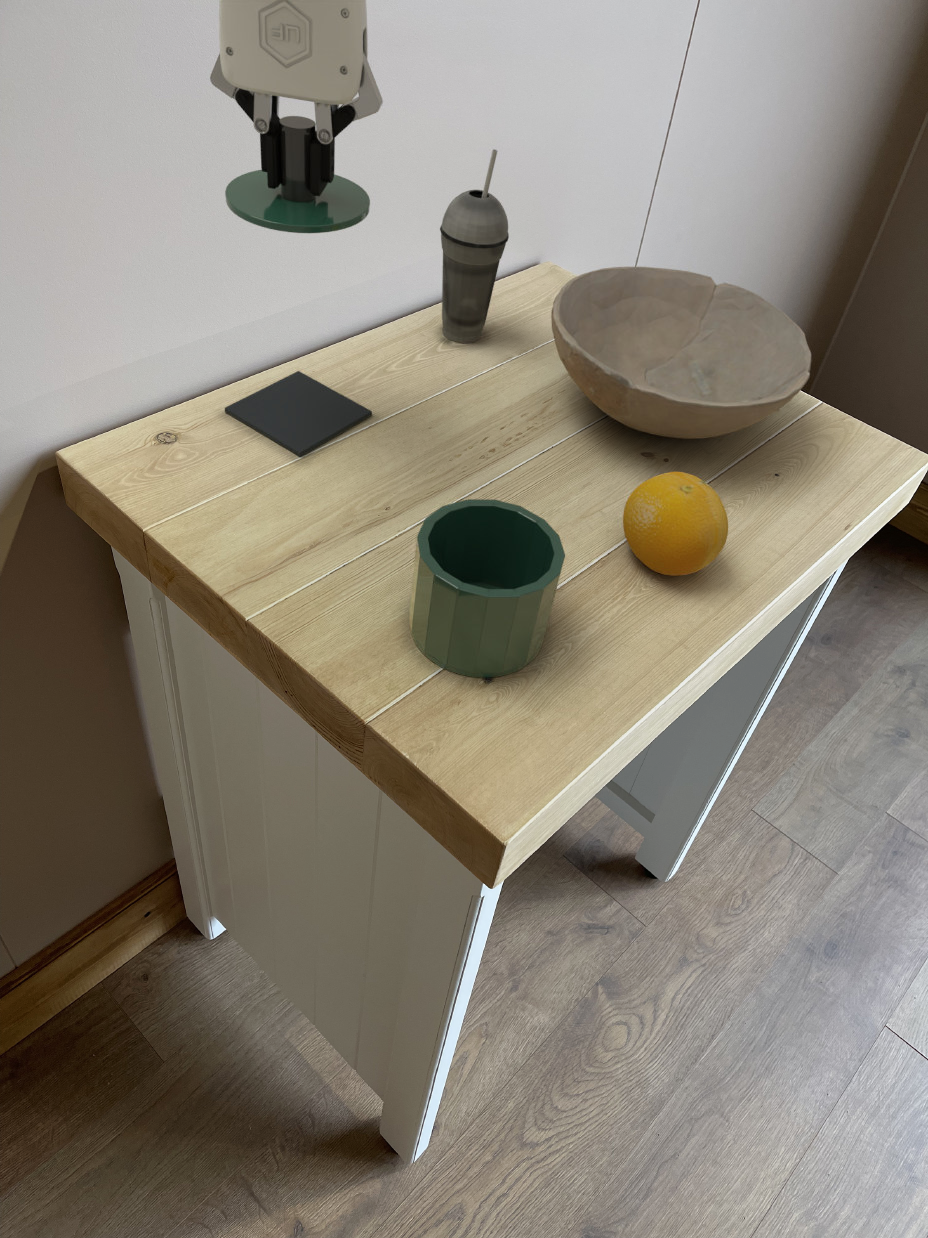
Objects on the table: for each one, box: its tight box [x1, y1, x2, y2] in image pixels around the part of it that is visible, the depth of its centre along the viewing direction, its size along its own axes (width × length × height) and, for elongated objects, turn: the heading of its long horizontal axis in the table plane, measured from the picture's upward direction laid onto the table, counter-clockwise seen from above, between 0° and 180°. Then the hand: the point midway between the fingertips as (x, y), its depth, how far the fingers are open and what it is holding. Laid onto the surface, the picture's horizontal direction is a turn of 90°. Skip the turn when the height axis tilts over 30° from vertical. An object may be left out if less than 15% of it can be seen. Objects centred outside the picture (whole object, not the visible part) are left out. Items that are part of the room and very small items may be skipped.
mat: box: [224, 370, 373, 458], centre depth 90 cm, size 10×10×1 cm
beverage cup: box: [439, 149, 510, 344], centre depth 97 cm, size 7×7×20 cm
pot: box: [408, 498, 566, 679], centre depth 69 cm, size 11×11×8 cm
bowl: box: [550, 266, 812, 439], centre depth 94 cm, size 26×26×10 cm
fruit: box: [622, 471, 729, 576], centre depth 78 cm, size 9×8×8 cm
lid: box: [224, 115, 371, 234], centre depth 73 cm, size 12×12×7 cm
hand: (298, 183), depth 74 cm, fingers closed on lid, 2 cm apart
